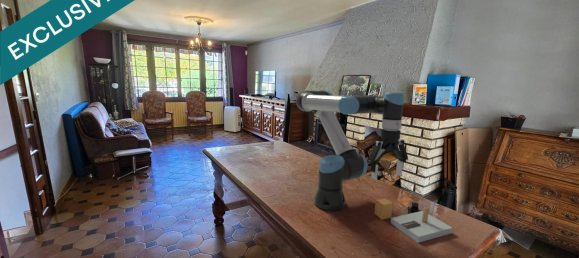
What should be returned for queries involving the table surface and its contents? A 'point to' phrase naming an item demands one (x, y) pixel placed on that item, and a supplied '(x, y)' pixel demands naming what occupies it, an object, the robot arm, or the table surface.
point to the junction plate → (421, 225)
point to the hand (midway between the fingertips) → (386, 177)
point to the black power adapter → (413, 208)
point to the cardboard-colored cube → (383, 208)
